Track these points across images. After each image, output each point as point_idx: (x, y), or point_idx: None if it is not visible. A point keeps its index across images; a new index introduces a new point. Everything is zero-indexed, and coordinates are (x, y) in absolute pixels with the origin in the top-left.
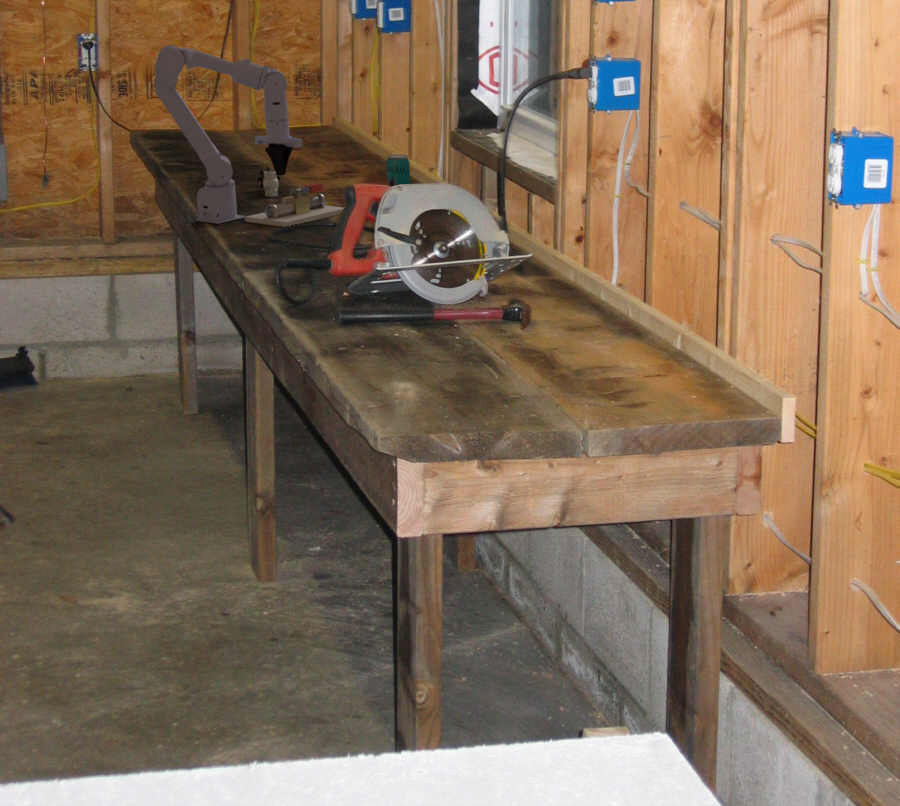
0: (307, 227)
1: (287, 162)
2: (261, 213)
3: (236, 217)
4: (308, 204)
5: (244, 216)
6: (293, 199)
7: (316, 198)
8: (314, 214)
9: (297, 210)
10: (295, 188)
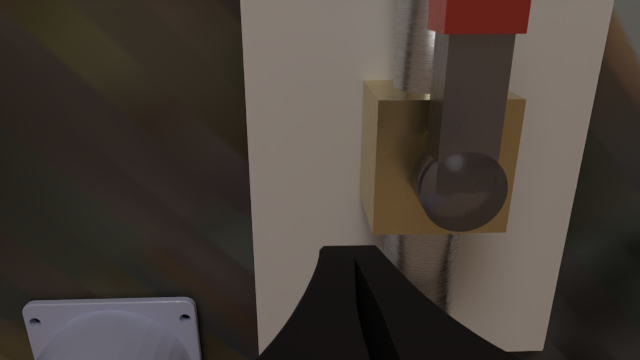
0: (628, 290)
1: (437, 309)
2: (264, 263)
3: (188, 346)
4: None
5: (192, 303)
6: (482, 231)
7: None
8: (563, 132)
9: None
10: (443, 163)
